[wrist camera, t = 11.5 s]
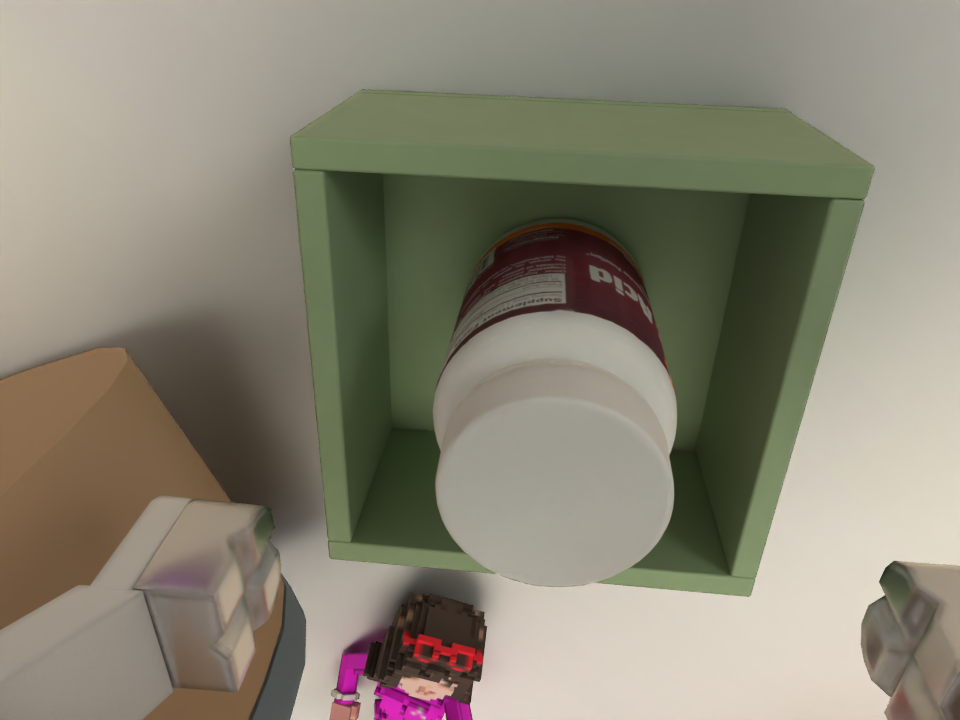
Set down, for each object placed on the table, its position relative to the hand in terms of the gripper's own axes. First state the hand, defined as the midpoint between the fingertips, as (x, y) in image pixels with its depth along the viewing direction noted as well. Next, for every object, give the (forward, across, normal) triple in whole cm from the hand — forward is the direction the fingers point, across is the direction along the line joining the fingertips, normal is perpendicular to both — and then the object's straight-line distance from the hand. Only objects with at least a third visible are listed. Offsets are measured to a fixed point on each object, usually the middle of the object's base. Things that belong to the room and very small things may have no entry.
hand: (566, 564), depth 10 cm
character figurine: (+11, +4, +17) cm, 21 cm away
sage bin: (+11, 0, +1) cm, 11 cm away
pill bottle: (+11, 0, +1) cm, 11 cm away
